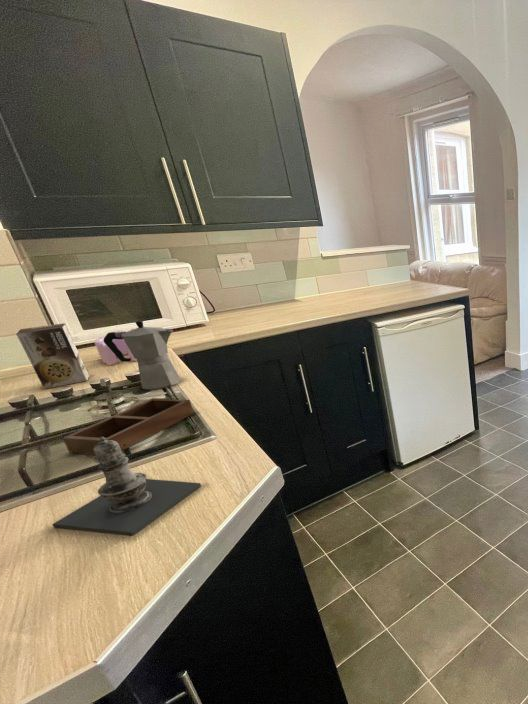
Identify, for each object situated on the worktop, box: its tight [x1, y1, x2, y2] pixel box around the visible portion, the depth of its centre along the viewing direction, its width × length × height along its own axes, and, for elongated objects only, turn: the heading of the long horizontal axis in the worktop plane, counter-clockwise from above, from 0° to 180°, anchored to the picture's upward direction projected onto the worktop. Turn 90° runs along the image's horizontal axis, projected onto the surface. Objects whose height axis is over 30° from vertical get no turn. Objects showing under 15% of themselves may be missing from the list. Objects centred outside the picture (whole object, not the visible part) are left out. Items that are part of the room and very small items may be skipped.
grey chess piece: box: [94, 437, 152, 513], centre depth 65 cm, size 6×6×12 cm
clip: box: [93, 328, 137, 366], centre depth 142 cm, size 20×12×7 cm, turn 32°
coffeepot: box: [103, 320, 182, 391], centre depth 114 cm, size 15×9×18 cm, turn 110°
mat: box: [51, 478, 202, 536], centre depth 67 cm, size 14×12×1 cm
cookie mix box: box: [16, 322, 90, 390], centre depth 117 cm, size 9×6×16 cm
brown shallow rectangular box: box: [62, 397, 195, 456], centre depth 90 cm, size 10×19×4 cm, turn 171°
